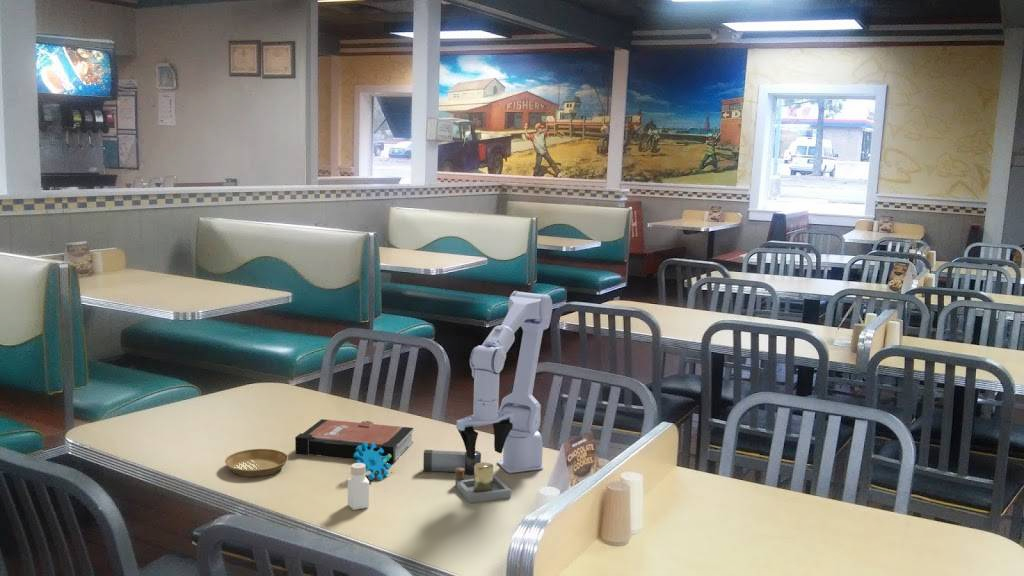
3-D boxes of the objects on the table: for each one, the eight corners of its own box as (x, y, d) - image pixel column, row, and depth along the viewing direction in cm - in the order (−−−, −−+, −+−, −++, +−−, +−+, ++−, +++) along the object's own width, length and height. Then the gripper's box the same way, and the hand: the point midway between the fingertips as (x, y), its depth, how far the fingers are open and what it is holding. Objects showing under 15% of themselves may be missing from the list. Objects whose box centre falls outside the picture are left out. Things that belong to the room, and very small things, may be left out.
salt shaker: (352, 511, 191) (352, 469, 190) (346, 504, 195) (346, 463, 193) (369, 508, 193) (370, 467, 192) (364, 501, 197) (364, 461, 195)
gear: (366, 479, 205) (350, 442, 209) (352, 492, 208) (337, 455, 212) (401, 473, 213) (385, 438, 217) (388, 485, 216) (372, 450, 220)
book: (414, 443, 237) (414, 425, 236) (393, 466, 220) (393, 447, 219) (322, 434, 241) (322, 416, 241) (295, 455, 224) (295, 437, 224)
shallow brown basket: (269, 454, 224) (268, 444, 224) (299, 470, 214) (299, 460, 214) (214, 467, 214) (214, 457, 214) (243, 485, 204) (243, 475, 203)
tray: (496, 483, 210) (496, 475, 209) (510, 497, 201) (511, 490, 201) (456, 488, 206) (456, 480, 205) (470, 503, 198) (470, 495, 197)
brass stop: (488, 485, 206) (489, 461, 205) (495, 493, 202) (496, 468, 201) (471, 487, 205) (471, 463, 204) (477, 495, 201) (477, 470, 200)
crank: (481, 468, 218) (481, 450, 217) (479, 474, 214) (480, 456, 213) (424, 466, 218) (425, 448, 217) (422, 472, 214) (423, 454, 214)
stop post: (462, 483, 209) (462, 467, 208) (465, 486, 207) (465, 470, 206) (453, 484, 208) (454, 468, 207) (456, 487, 206) (457, 471, 205)
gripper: (502, 389, 207) (500, 444, 209) (449, 397, 199) (448, 455, 201) (519, 396, 202) (517, 453, 204) (466, 406, 193) (465, 464, 195)
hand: (484, 454), depth 202 cm, fingers open, 7 cm apart
